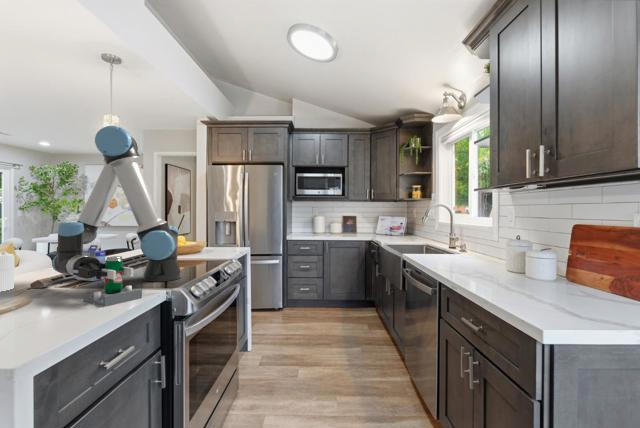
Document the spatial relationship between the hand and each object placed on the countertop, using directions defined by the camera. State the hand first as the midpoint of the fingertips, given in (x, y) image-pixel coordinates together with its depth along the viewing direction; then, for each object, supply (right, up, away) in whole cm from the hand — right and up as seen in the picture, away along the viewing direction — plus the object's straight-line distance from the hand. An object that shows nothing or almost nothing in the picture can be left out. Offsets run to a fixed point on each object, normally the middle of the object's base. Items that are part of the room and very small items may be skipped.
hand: (123, 273), depth 105 cm
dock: (-5, -9, +2) cm, 11 cm away
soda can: (-5, -7, +2) cm, 9 cm away
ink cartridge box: (-34, -9, +32) cm, 47 cm away
